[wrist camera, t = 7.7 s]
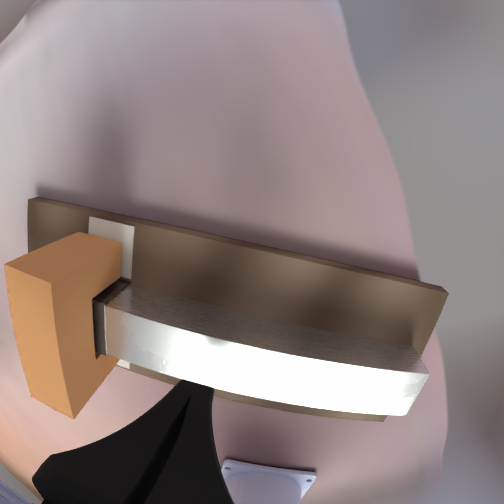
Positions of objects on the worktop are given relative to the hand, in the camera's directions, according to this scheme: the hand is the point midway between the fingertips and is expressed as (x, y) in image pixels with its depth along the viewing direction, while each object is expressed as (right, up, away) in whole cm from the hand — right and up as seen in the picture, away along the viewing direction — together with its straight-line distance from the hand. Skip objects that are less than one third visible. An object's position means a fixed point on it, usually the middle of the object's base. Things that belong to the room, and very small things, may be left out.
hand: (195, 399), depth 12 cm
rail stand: (0, +2, +6) cm, 7 cm away
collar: (-7, +3, +5) cm, 9 cm away
